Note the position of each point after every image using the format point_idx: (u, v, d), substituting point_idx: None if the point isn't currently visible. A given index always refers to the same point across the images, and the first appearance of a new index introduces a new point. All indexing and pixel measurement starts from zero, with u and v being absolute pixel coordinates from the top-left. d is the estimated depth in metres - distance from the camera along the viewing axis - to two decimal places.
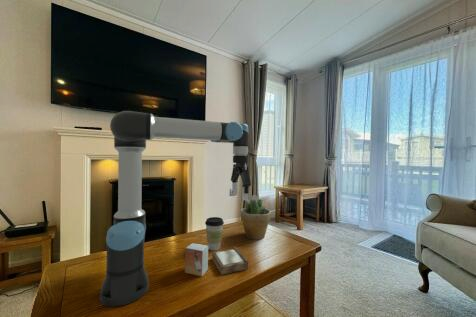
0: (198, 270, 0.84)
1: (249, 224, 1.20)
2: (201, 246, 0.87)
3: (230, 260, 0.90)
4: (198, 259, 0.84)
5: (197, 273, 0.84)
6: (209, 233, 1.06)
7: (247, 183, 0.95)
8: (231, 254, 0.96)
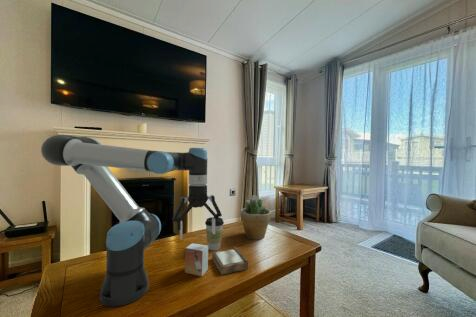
0: (198, 270, 0.84)
1: (249, 224, 1.20)
2: (201, 246, 0.87)
3: (230, 260, 0.90)
4: (198, 259, 0.84)
5: (197, 273, 0.84)
6: (209, 233, 1.06)
7: (173, 217, 0.84)
8: (231, 254, 0.96)
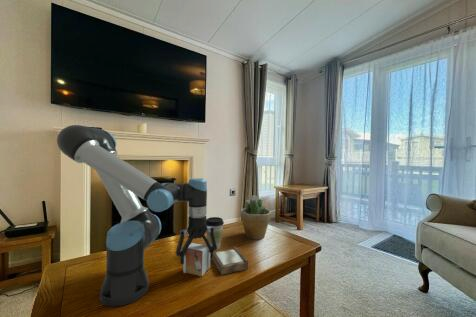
0: (198, 270, 0.84)
1: (249, 224, 1.20)
2: (201, 246, 0.87)
3: (230, 260, 0.90)
4: (198, 259, 0.84)
5: (197, 273, 0.84)
6: (209, 233, 1.06)
7: (176, 251, 0.84)
8: (231, 254, 0.96)
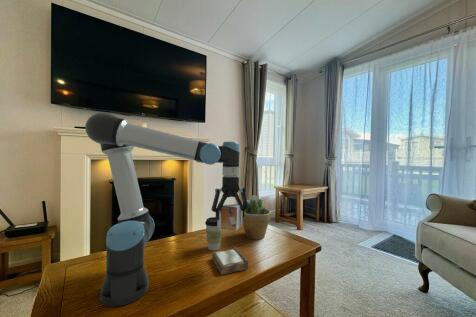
0: (232, 225, 0.90)
1: (249, 224, 1.20)
2: (234, 204, 0.94)
3: (230, 260, 0.90)
4: (232, 215, 0.90)
5: (231, 228, 0.90)
6: (209, 233, 1.06)
7: (212, 208, 0.91)
8: (231, 254, 0.96)
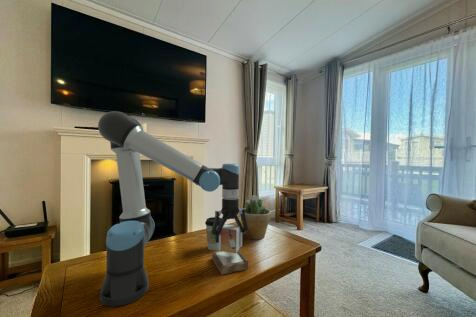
0: (232, 248, 0.91)
1: (249, 224, 1.20)
2: (234, 226, 0.94)
3: (230, 260, 0.90)
4: (232, 237, 0.90)
5: (231, 251, 0.91)
6: (209, 233, 1.06)
7: (212, 231, 0.91)
8: (231, 254, 0.96)
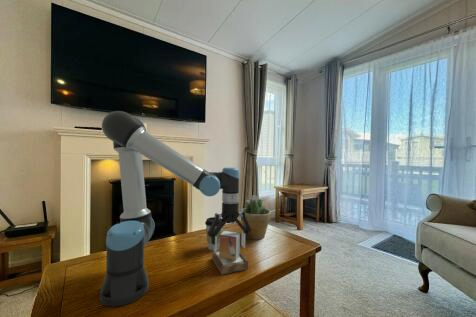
0: (232, 255, 0.91)
1: (249, 224, 1.20)
2: (234, 233, 0.94)
3: (230, 260, 0.90)
4: (232, 244, 0.90)
5: (231, 258, 0.91)
6: None
7: (208, 232, 0.90)
8: None
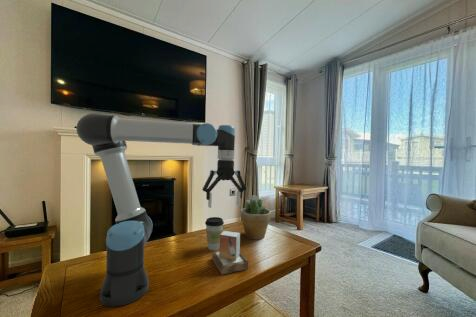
0: (232, 255, 0.91)
1: (249, 224, 1.20)
2: (234, 233, 0.94)
3: (230, 260, 0.90)
4: (232, 244, 0.90)
5: (231, 258, 0.91)
6: (209, 233, 1.06)
7: (203, 188, 0.91)
8: None
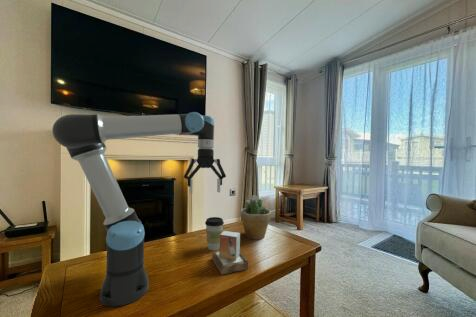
0: (232, 255, 0.91)
1: (249, 224, 1.20)
2: (234, 233, 0.94)
3: (230, 260, 0.90)
4: (232, 244, 0.90)
5: (231, 258, 0.91)
6: (209, 233, 1.06)
7: (184, 175, 0.97)
8: None
